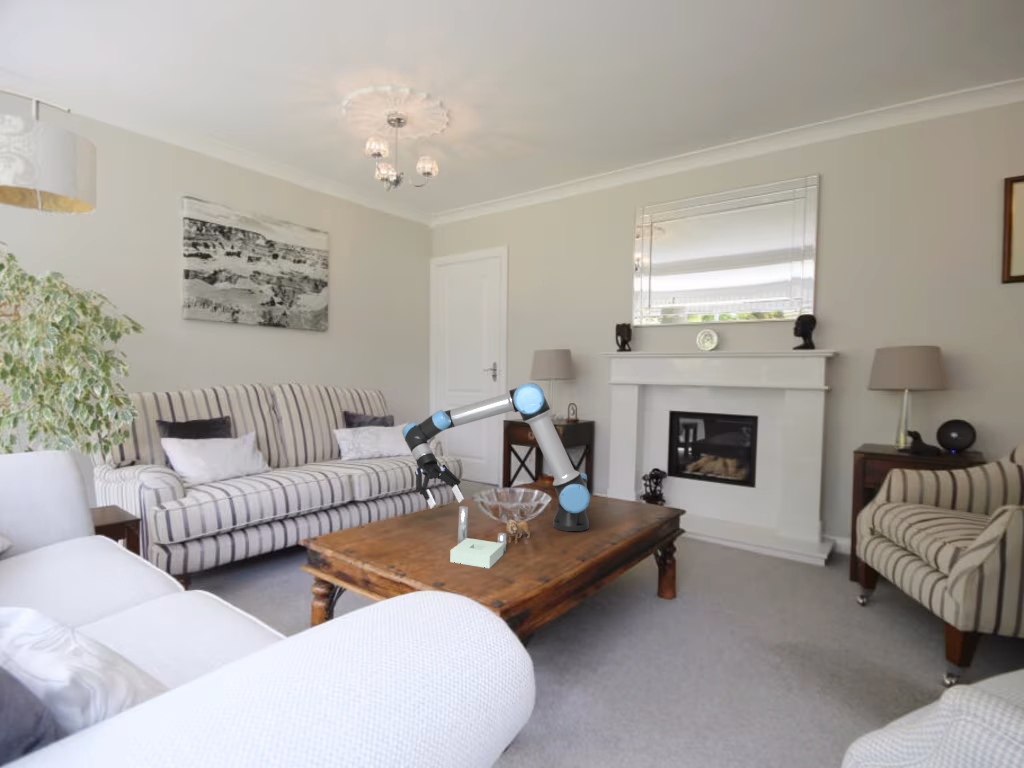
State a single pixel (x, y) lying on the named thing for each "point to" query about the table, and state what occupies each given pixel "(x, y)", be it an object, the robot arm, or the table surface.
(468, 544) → the socket block
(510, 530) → the lion figurine
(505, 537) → the short peg
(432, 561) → the table surface
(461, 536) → the tall peg
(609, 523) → the table surface
